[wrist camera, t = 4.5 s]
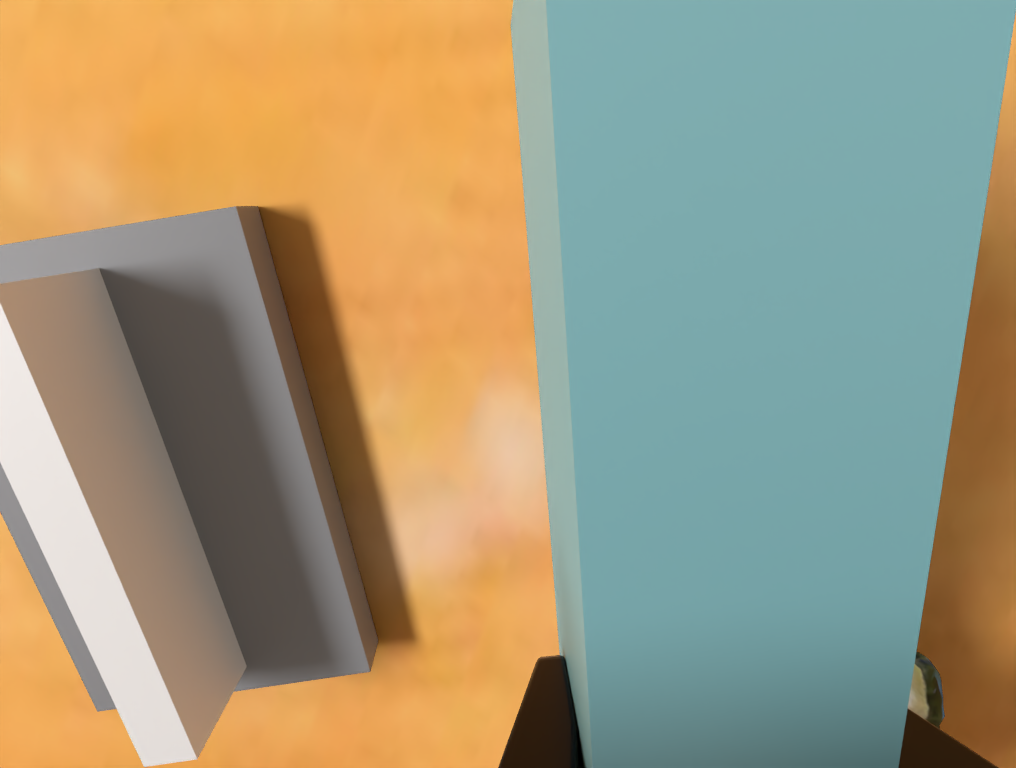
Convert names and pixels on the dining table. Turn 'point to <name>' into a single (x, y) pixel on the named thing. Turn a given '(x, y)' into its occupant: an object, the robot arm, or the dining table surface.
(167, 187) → the dining table surface
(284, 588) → the ridge stand
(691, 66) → the batten
